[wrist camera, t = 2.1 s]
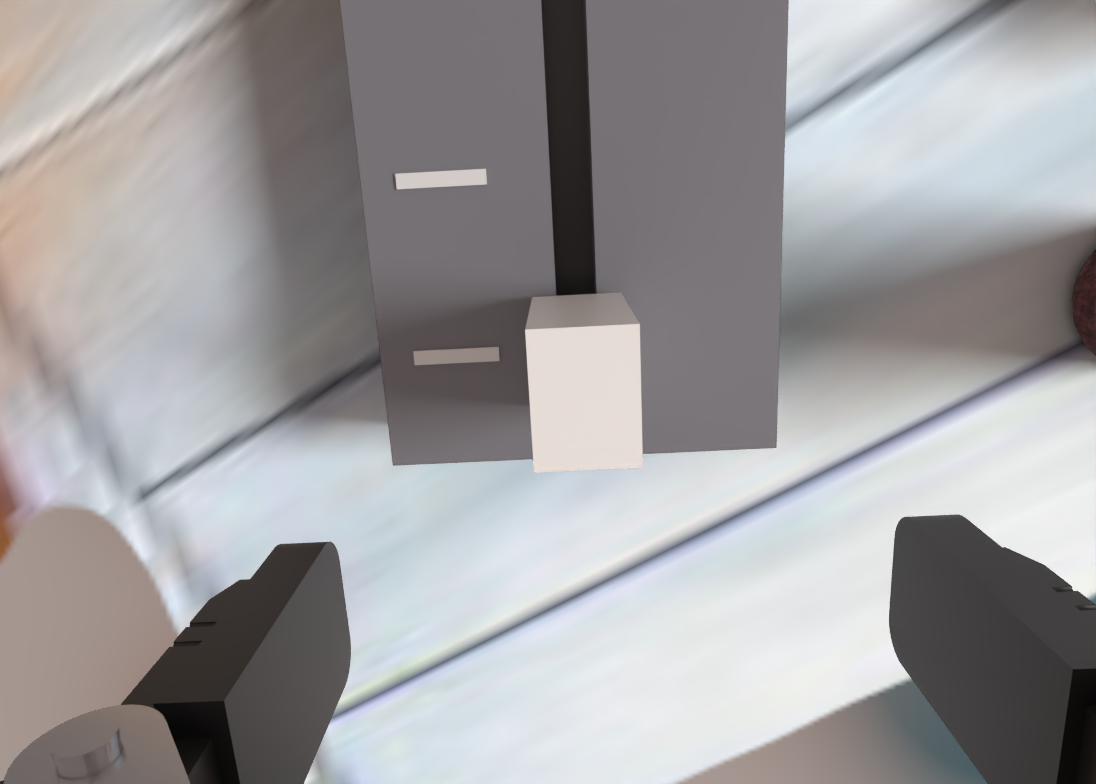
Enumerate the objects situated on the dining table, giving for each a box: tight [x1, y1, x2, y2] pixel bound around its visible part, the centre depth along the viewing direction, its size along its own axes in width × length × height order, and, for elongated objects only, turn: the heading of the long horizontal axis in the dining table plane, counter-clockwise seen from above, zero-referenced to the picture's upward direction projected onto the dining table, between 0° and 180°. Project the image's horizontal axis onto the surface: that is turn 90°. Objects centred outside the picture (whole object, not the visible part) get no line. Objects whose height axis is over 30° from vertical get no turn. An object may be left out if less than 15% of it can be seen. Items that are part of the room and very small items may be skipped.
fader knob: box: [525, 292, 643, 472], centre depth 24 cm, size 4×3×8 cm
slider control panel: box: [340, 0, 788, 466], centre depth 27 cm, size 23×14×5 cm, turn 3°
